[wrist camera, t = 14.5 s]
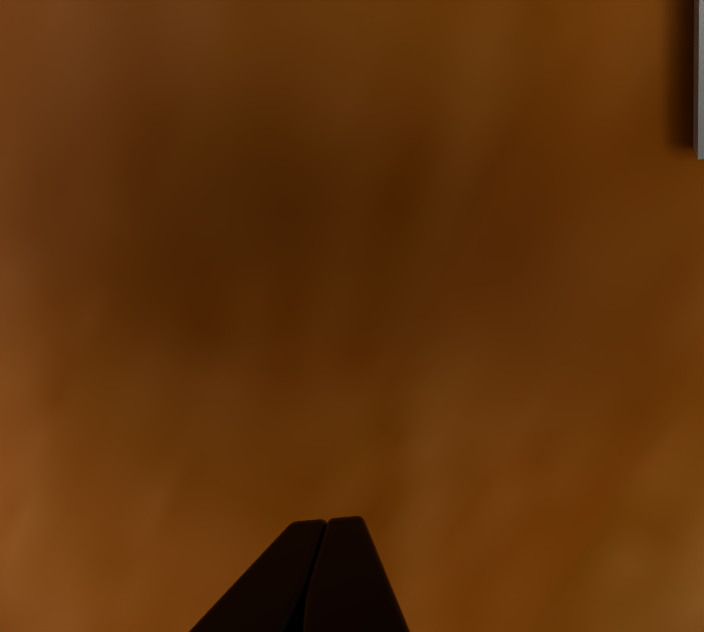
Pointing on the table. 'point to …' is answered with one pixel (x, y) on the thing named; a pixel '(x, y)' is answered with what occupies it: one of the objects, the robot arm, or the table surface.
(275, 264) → the table surface
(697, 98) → the grey domino block
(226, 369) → the table surface
